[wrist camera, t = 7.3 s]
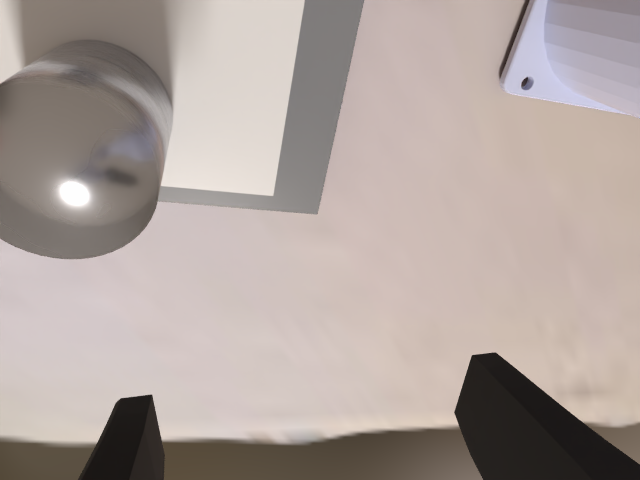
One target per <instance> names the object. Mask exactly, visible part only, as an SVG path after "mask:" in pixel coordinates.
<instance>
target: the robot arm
mask: <svg viewBox="0 0 640 480" xmlns="http://www.w3.org/2000/svg"><path fill="white" fill-rule="evenodd" d="M526 77H528V82H527V84H526V85H525V86H524V87H521V83H522V81H523V80H524V79H525V78H526ZM500 86H501V88H502V90H503V91H505V92H507V93H510V94H513V95H519V96H525V97H530V98H536V99H542V100H547V101H553V102H559V103H565V104H570V105H576V106H582V107H587V108H593V109H599V110H605V111H610V112H616V113H622V114H627V115H632V116H634V117H637V118H639V119H640V0H530V1H529V4H528V7H527V9H526V12H525V15H524V17H523V20H522V23H521V25H520V28H519V31H518V33H517V36H516V38H515V41H514V44H513V46H512V49H511V52H510V54H509V57H508V60H507V62H506V65H505V68H504V70H503V73H502V76H501V79H500ZM454 413H455V415H456V418H457V421H458V424H459V426H460V429H461V432H462V434H463V437H464V440H465V442H466V445H467V447H468V449H469V452H470V455H471V457H472V458H473V460H474V462H475V465H476V466H477V468H478V470H479V472H480V474H481V476H482V478H483V480H640V464H638V463H637V462H635V461H634V460H633V459H631V458H630V457H628V456H627V455H626V454H624V453H623V452H622V451H620V450H619V449H617V448H616V447H615V446H613V445H612V444H610V443H609V442H608V441H606V440H605V439H604V438H602V437H601V436H600V435H598V434H597V433H596V432H594V431H593V430H592V429H590V428H589V427H588V426H587V425H585V424H584V423H583V422H581V421H580V420H579V419H578V418H576V417H575V416H574V415H573V414H571V413H570V412H569V411H567V410H566V409H565V408H564V407H562V406H561V405H560V404H559V403H557V402H556V401H555V400H554V399H552V398H551V397H550V396H549V395H548V394H546V393H545V392H544V391H543V390H541V389H540V388H539V387H538V386H536V385H535V384H534V383H533V382H532V381H530V380H529V379H528V378H527V377H525V376H524V375H523V374H522V373H521V372H519V371H518V370H517V369H516V368H514V367H513V366H512V365H511V364H509V363H508V362H507V361H506V360H504V359H503V358H502V357H501V356H499V355H498V354H497V353H487V354H479V355H472V357H471V360H470V363H469V367H468V370H467V373H466V376H465V380H464V383H463V386H462V389H461V393H460V396H459V399H458V402H457V406H456V409H455V412H454ZM164 456H165V455H164V450H163V445H162V440H161V436H160V431H159V426H158V421H157V416H156V411H155V407H154V402H153V397H152V395H145V396H137V397H129V398H121V399H120V400H119V401H117V402H116V404H115V406H114V408H113V411H112V413H111V415H110V417H109V420H108V422H107V424H106V426H105V428H104V430H103V432H102V434H101V436H100V439H99V441H98V443H97V445H96V447H95V448H94V451H93V452H92V454H91V456H90V458H89V460H88V462H87V464H86V466H85V468H84V470H83V471H82V473H81V475H80V477H79V479H78V480H164Z"/></svg>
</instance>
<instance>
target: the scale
mask: <svg viewBox="0 0 640 480" xmlns="http://www.w3.org/2000/svg"><path fill="white" fill-rule="evenodd" d="M363 3H364V0H0V83H2V82H3V81H5V80H6V79H8V78H9V77H11V76H12V75H14V74H15V73H17V72H18V71H20V70H22V69H23V68H25V67H26V66H28V65H29V64H31V63H32V62H34V61H35V60H37V59H38V58H40V57H41V56H43V55H44V54H46V53H47V52H49V51H51V50H52V49H54V48H56V47H58V46H60V45H62V44H64V43H68V42H71V41H76V40H90V39H91V40H101V41H105V42H110V43H113V44H116V45H119V46H121V47H123V48H125V49H127V50H129V51H131V52H133V53H134V54H136V55H137V56H139V57H140V58H141V59H143V60H144V61H145V62H146V63H147V64H148V65H149V66H150V67H151V68H152V69H153V70H154V71H155V72H156V73H157V75H158V76H159V77H160V79H161V80H162V82H163V84H164V85H165V87H166V89H167V92H168V94H169V97H170V100H171V104H172V110H173V125H172V132H171V137H170V142H169V147H168V152H167V157H166V162H165V167H164V172H163V177H162V182H161V187H160V192H159V197H158V201H159V202H171V203H184V204H196V205H208V206H221V207H233V208H245V209H257V210H270V211H282V212H294V213H306V214H318V209H319V205H320V200H321V196H322V191H323V187H324V182H325V177H326V173H327V168H328V164H329V159H330V154H331V150H332V145H333V141H334V136H335V132H336V127H337V122H338V118H339V113H340V109H341V104H342V100H343V95H344V90H345V86H346V81H347V77H348V72H349V67H350V63H351V58H352V54H353V49H354V45H355V40H356V35H357V31H358V26H359V22H360V17H361V12H362V8H363Z"/></svg>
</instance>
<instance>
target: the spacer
mask: <svg viewBox="0 0 640 480" xmlns="http://www.w3.org/2000/svg"><path fill="white" fill-rule="evenodd" d="M172 125H173V110H172V104H171V100H170V97H169V94H168V92H167V89H166V87H165V85H164V84H163V82H162V80H161V79H160V77H159V76H158V75H157V73H156V72H155V71H154V70H153V69H152V68H151V67H150V66H149V65H148V64H147V63H146V62H145V61H144V60H143V59H141V58H140V57H139V56H137V55H136V54H134V53H133V52H131V51H129V50H127V49H125V48H123V47H121V46H119V45H116V44H113V43H110V42H105V41H101V40H91V39H90V40H76V41H71V42H68V43H64V44H62V45H60V46H58V47H56V48H54V49H52V50H51V51H49V52H47V53H46V54H44V55H43V56H41V57H40V58H38V59H37V60H35V61H34V62H32V63H31V64H29V65H28V66H26V67H25V68H23V69H22V70H20V71H18V72H17V73H15V74H14V75H12V76H11V77H9V78H8V79H6V80H5V81H3V82H2V83H0V239H2V240H3V241H5V242H7V243H9V244H11V245H13V246H15V247H18V248H20V249H23V250H25V251H28V252H31V253H34V254H38V255H41V256H47V257H52V258H60V259H83V258H92V257H96V256H101V255H104V254H107V253H110V252H113V251H115V250H117V249H119V248H121V247H123V246H125V245H126V244H128V243H130V242H131V241H132V240H133V239H135V238H136V237H137V236H138V235H139V234H140V233H141V232H142V231H143V230H144V229H145V227H146V226H147V224H148V223H149V221H150V220H151V218H152V216H153V213H154V211H155V209H156V205H157V201H158V197H159V192H160V187H161V182H162V177H163V172H164V167H165V162H166V157H167V152H168V147H169V142H170V137H171V132H172Z"/></svg>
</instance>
